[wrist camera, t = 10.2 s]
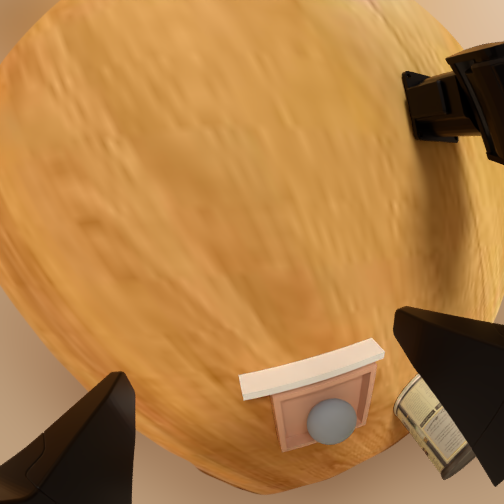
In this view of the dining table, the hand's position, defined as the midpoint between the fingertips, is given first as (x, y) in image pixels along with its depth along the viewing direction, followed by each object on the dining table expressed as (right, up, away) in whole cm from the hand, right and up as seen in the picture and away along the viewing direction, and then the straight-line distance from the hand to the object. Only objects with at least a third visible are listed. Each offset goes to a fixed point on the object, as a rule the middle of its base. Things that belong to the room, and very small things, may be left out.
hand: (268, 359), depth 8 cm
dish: (+7, -13, +17) cm, 22 cm away
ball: (+7, -13, +17) cm, 22 cm away
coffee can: (+23, -16, +21) cm, 36 cm away
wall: (+5, -7, +15) cm, 17 cm away
